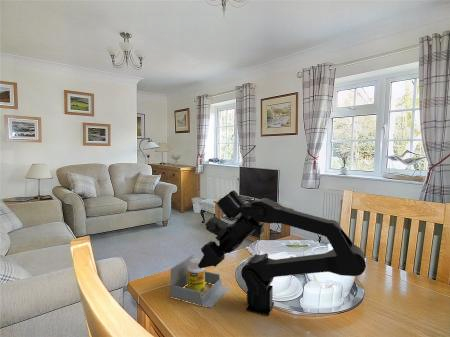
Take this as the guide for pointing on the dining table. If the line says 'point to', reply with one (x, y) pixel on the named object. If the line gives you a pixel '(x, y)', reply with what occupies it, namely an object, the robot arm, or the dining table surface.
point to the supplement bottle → (196, 276)
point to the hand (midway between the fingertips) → (206, 261)
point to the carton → (208, 299)
